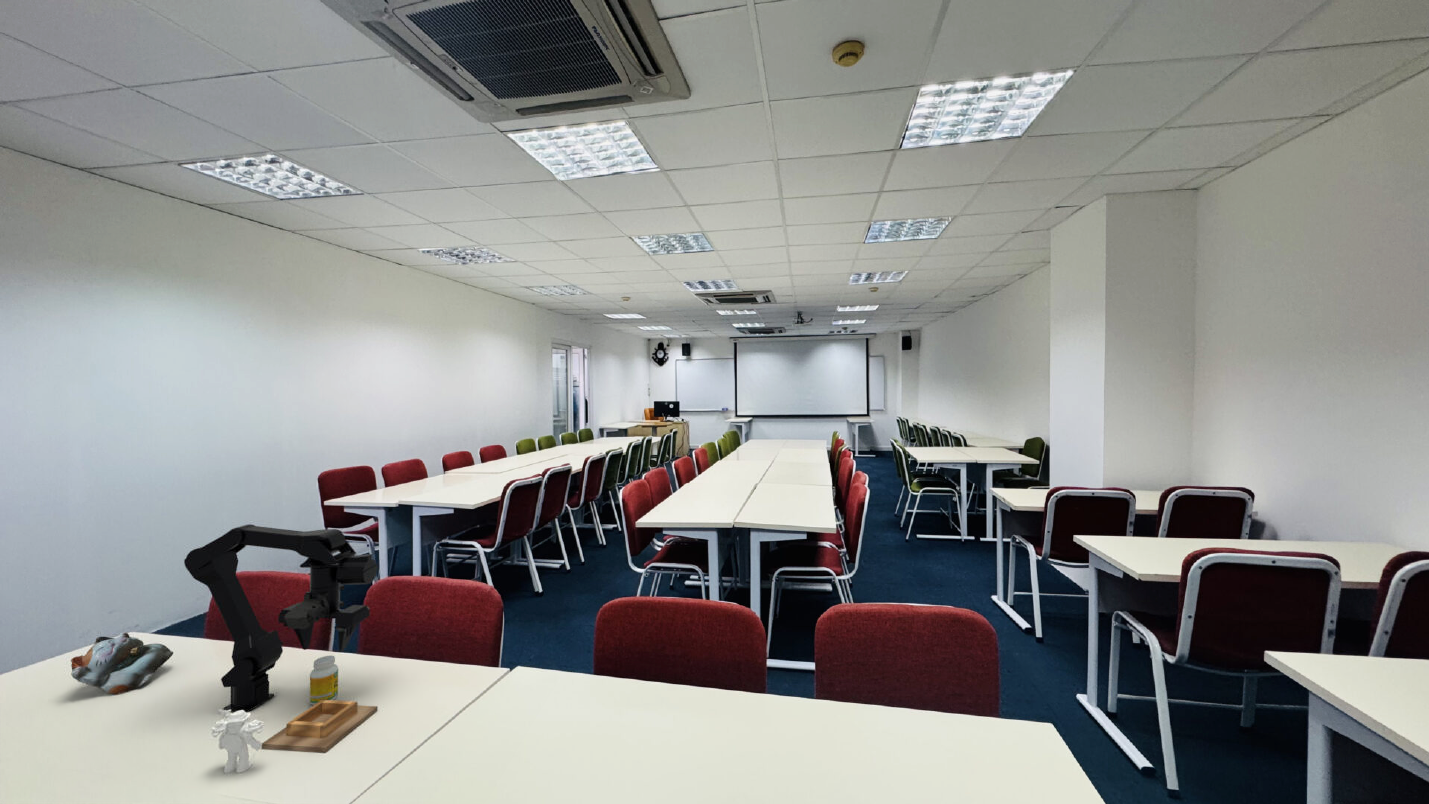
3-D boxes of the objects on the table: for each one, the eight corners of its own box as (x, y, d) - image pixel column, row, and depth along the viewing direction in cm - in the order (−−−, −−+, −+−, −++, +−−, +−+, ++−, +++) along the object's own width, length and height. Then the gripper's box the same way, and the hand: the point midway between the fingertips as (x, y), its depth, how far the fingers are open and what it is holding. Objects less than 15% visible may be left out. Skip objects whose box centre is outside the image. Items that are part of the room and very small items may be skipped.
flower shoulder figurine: (204, 775, 95) (205, 711, 95) (225, 761, 99) (226, 699, 99) (251, 776, 94) (252, 712, 95) (270, 761, 98) (271, 700, 99)
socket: (261, 748, 102) (261, 731, 102) (320, 707, 116) (320, 692, 116) (325, 752, 101) (325, 735, 101) (377, 710, 115) (377, 695, 115)
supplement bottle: (309, 698, 120) (309, 658, 120) (337, 690, 123) (337, 651, 123) (309, 709, 115) (310, 667, 116) (338, 700, 119) (338, 660, 119)
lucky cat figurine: (131, 695, 120) (88, 654, 116) (85, 715, 120) (40, 674, 116) (186, 649, 135) (149, 610, 130) (145, 666, 135) (107, 628, 130)
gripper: (255, 595, 112) (254, 665, 112) (333, 598, 111) (332, 669, 110) (300, 578, 123) (299, 642, 123) (371, 581, 122) (370, 645, 122)
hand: (324, 650), depth 119 cm, fingers open, 9 cm apart
